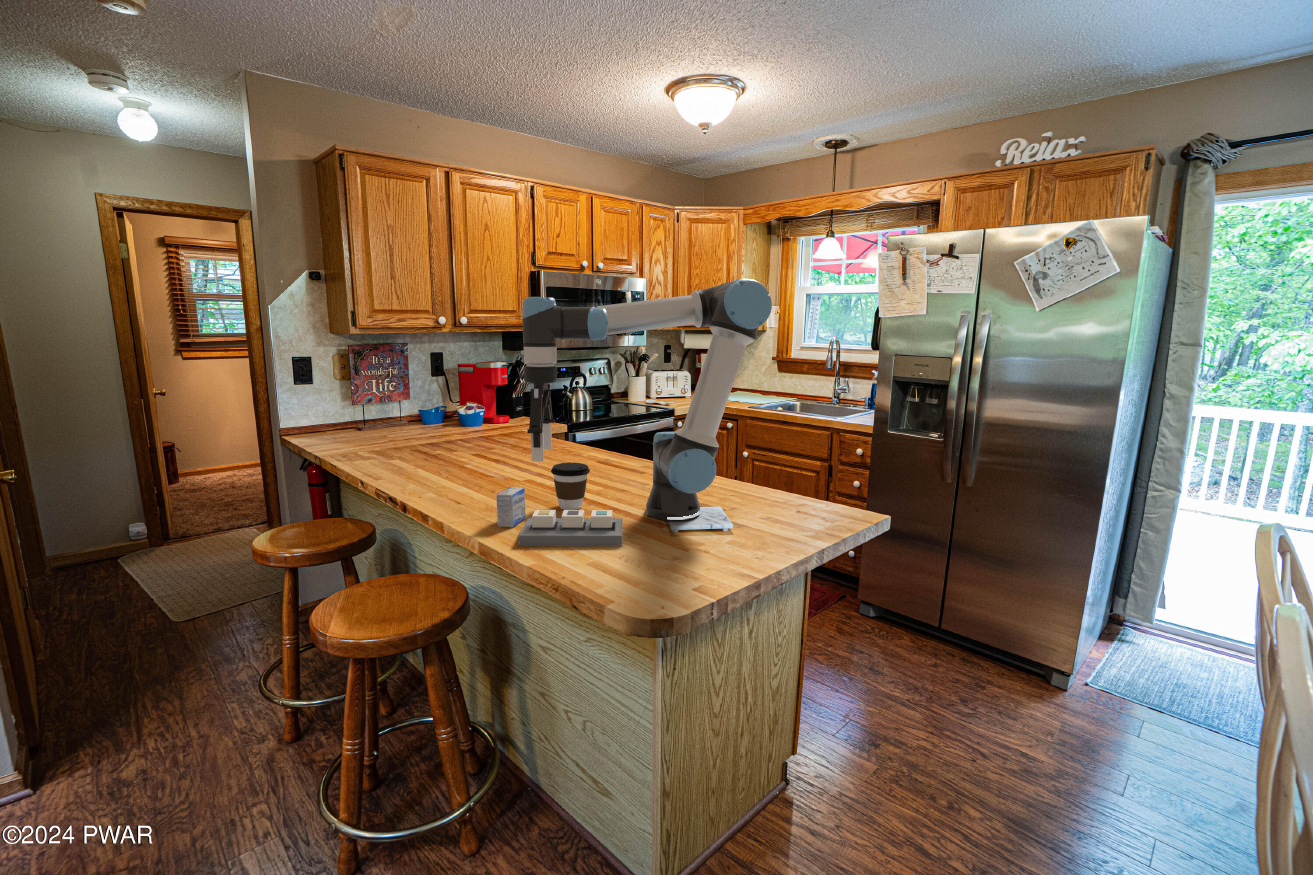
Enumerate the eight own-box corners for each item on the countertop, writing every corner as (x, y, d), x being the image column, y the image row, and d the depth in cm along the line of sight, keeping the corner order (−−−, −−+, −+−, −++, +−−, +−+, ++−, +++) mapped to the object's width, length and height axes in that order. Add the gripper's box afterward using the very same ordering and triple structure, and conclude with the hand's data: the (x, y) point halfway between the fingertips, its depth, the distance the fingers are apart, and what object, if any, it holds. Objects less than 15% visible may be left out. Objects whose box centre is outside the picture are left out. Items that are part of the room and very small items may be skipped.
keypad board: (622, 527, 153) (622, 518, 152) (621, 546, 140) (621, 535, 139) (528, 527, 152) (528, 517, 151) (519, 545, 139) (518, 535, 138)
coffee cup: (597, 505, 171) (597, 465, 169) (572, 515, 162) (572, 472, 160) (568, 499, 177) (568, 460, 175) (543, 508, 168) (542, 467, 166)
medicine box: (513, 528, 151) (512, 495, 149) (497, 526, 152) (496, 494, 150) (526, 518, 159) (525, 487, 157) (510, 517, 159) (509, 486, 158)
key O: (612, 520, 148) (612, 509, 147) (611, 527, 143) (611, 515, 143) (592, 520, 148) (592, 509, 147) (590, 527, 143) (590, 515, 142)
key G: (555, 520, 147) (555, 509, 147) (553, 527, 142) (553, 515, 142) (535, 520, 147) (535, 509, 147) (532, 527, 142) (532, 515, 142)
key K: (584, 520, 148) (584, 509, 147) (582, 527, 143) (582, 515, 142) (564, 520, 147) (563, 509, 147) (561, 527, 143) (561, 515, 142)
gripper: (532, 362, 150) (535, 444, 154) (513, 368, 126) (516, 466, 130) (562, 362, 150) (564, 445, 154) (549, 368, 126) (550, 466, 130)
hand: (542, 455), depth 142 cm, fingers open, 12 cm apart
